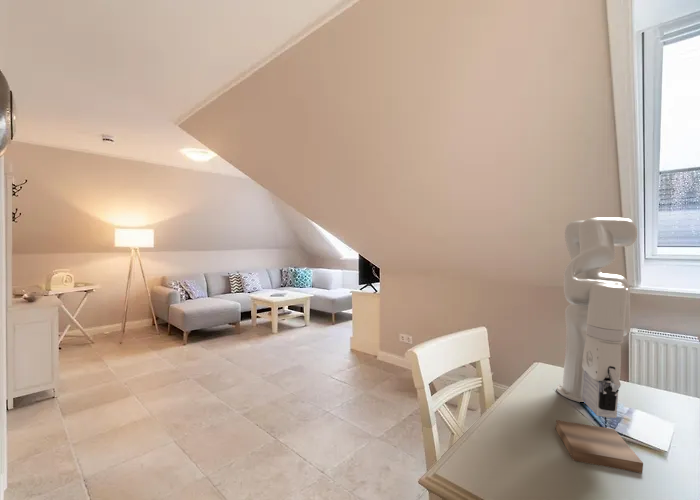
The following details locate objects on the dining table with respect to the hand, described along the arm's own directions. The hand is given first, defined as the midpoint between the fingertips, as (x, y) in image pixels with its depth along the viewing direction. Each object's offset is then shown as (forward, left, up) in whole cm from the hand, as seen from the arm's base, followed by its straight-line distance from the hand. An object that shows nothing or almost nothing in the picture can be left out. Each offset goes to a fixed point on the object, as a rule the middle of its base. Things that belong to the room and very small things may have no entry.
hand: (598, 400), depth 87 cm
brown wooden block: (0, 0, -13) cm, 13 cm away
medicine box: (0, 0, -3) cm, 3 cm away
